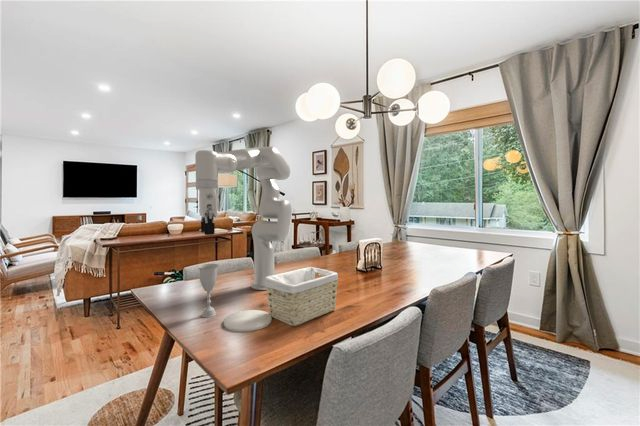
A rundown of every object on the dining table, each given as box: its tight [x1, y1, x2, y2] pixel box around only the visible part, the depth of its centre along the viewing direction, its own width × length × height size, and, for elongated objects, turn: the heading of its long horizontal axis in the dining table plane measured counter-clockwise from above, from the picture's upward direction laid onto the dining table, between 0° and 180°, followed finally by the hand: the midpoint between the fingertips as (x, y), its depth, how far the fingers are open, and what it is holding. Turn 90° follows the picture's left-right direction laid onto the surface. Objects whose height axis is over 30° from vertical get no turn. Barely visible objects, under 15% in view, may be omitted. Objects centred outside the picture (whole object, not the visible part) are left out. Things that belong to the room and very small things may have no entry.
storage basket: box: [265, 266, 339, 327], centre depth 114 cm, size 24×16×15 cm
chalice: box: [198, 263, 219, 318], centre depth 112 cm, size 7×7×18 cm
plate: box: [223, 309, 272, 333], centre depth 107 cm, size 16×16×1 cm
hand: (207, 233), depth 111 cm, fingers open, 9 cm apart
